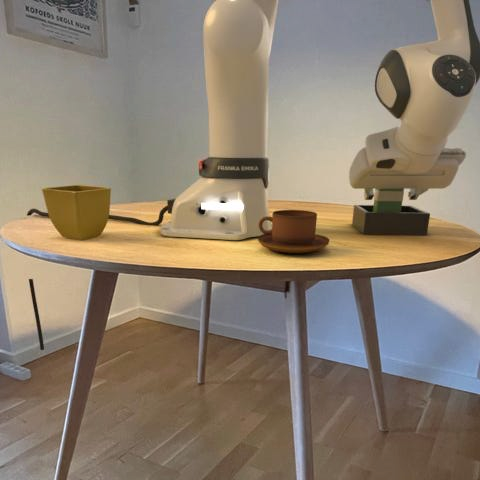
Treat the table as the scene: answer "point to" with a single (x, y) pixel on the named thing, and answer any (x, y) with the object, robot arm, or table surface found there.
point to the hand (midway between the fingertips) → (389, 197)
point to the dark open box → (390, 221)
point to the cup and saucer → (292, 232)
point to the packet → (388, 200)
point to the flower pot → (78, 209)
